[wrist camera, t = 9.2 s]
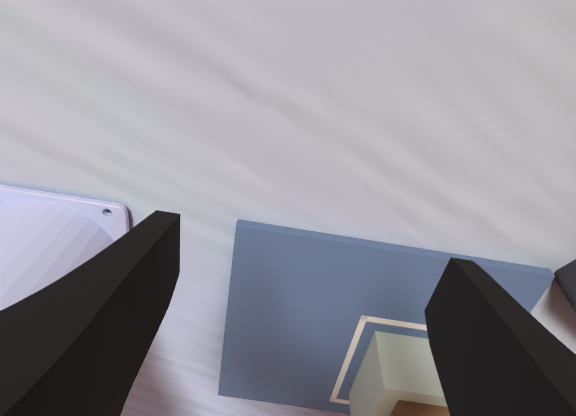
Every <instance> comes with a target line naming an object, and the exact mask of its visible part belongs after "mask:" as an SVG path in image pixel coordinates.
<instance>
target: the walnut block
mask: <svg viewBox="0 0 576 416" xmlns="http://www.w3.org/2000/svg"><path fill="white" fill-rule="evenodd" d="M390 416H450V414H449V410H448V407H444V406H437V405H431V404H424V403H417V402H411V401H404V400H398V401H397V403H396V405H395V407H394V409H393V410H392V412H391V414H390Z"/></svg>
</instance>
